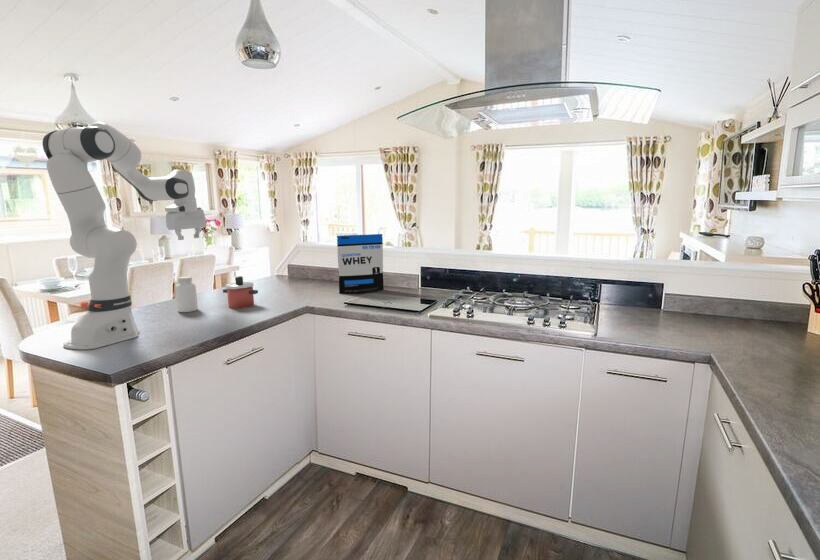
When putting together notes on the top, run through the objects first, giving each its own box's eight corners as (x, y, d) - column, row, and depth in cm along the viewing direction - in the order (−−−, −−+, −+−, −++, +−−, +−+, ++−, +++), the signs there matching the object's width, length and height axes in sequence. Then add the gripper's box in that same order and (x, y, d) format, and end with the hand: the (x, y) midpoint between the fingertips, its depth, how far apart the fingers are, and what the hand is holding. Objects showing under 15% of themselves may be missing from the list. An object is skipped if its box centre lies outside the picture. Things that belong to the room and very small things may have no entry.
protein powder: (337, 292, 228) (334, 235, 222) (380, 288, 237) (379, 233, 232) (341, 295, 219) (339, 236, 214) (386, 291, 228) (385, 234, 223)
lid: (242, 289, 190) (242, 279, 190) (219, 288, 193) (218, 278, 193) (258, 284, 202) (258, 275, 201) (236, 283, 205) (235, 274, 204)
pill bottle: (201, 308, 195) (198, 275, 192) (191, 312, 187) (187, 278, 185) (185, 308, 196) (181, 275, 193) (173, 312, 188) (170, 278, 185)
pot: (250, 309, 192) (248, 289, 190) (217, 307, 196) (216, 288, 195) (264, 304, 202) (263, 285, 201) (233, 302, 207) (232, 283, 205)
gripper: (196, 207, 201) (199, 237, 204) (161, 208, 182) (165, 240, 184) (208, 207, 200) (211, 237, 202) (174, 208, 180) (177, 241, 183)
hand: (189, 239), depth 193 cm, fingers open, 8 cm apart
